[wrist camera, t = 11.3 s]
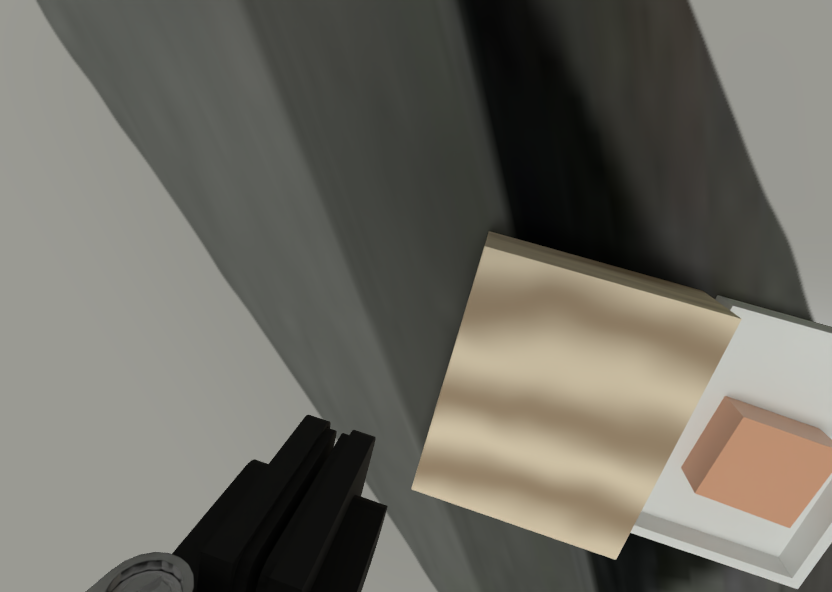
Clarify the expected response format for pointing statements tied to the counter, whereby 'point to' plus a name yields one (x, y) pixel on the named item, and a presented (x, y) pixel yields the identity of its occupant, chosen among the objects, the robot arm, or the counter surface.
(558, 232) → the counter surface
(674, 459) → the box
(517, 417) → the birch board
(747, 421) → the terracotta tile
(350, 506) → the robot arm
